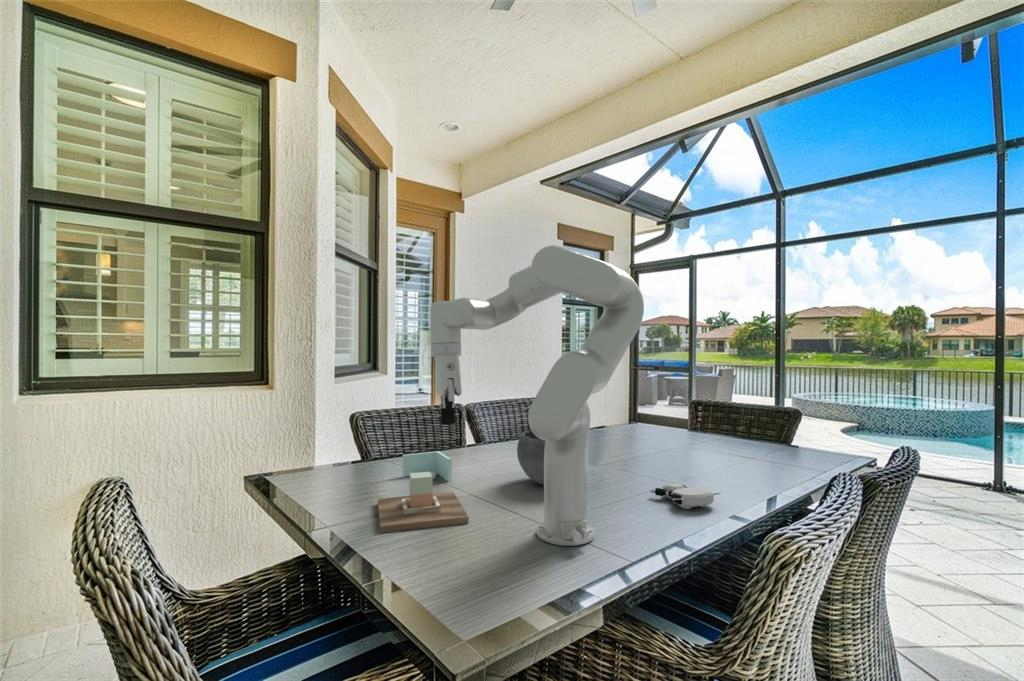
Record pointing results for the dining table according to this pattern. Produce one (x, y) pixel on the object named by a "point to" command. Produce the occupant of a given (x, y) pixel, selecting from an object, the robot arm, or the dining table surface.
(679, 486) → the robot toy
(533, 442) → the bowl
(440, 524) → the walnut board
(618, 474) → the dining table surface
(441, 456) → the right angle wall
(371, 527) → the dining table surface
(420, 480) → the stack block
